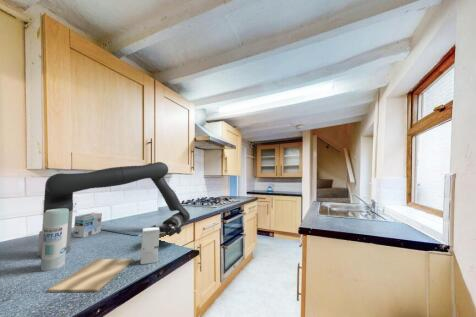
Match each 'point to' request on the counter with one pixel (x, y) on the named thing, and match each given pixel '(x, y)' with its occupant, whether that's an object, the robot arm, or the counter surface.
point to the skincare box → (149, 245)
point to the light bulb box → (87, 224)
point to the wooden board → (91, 276)
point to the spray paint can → (54, 239)
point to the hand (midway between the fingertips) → (159, 234)
